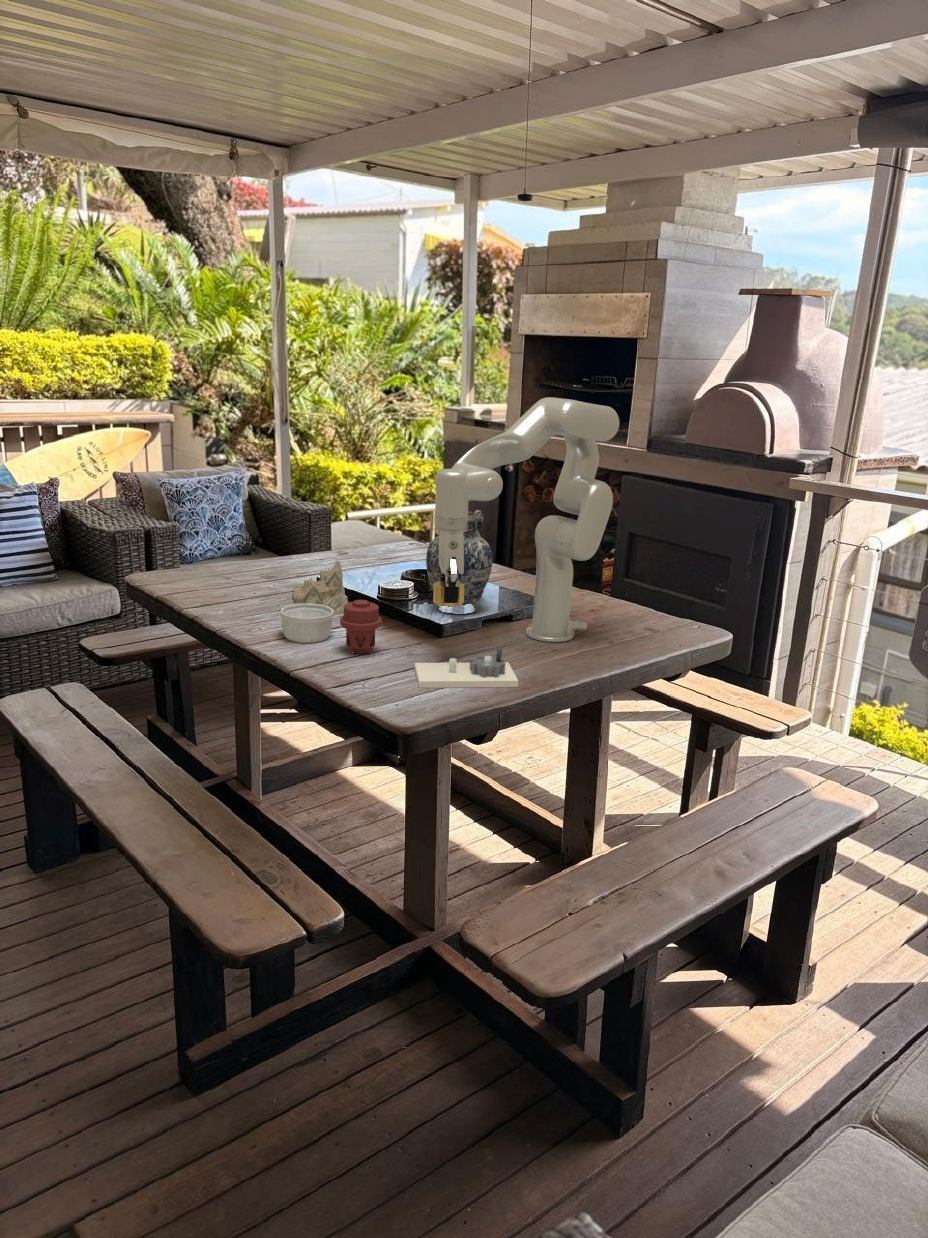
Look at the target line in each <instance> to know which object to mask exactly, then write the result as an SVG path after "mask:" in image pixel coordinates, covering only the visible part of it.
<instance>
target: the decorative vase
mask: <svg viewBox="0 0 928 1238" xmlns="http://www.w3.org/2000/svg"><path fill="white" fill-rule="evenodd" d="M483 524H484V514H483V512H482V510H479V509H477V510H474V511H471V510H468V523H467V531H466V532H463V536H464V573H463V574H462V575H461V574H460V573H459V572H458V581H459V582H460V583H461V584H464V603H462V605H466V604H472V605H475V604H476V603H479V602H480V601H481V599H482V596H483V594H484V590H485V588H486V586H487V584H488V583H489V579H490V577H491V573H492V569H493V568H492V567H493V553H492V549H491V545H489V542H487V541H486V539H485V538H483V537H482V536H481V535H480V531H479V530H480V529H481V528H482V527H483ZM437 533H438V534H439V531H437ZM425 558H426V559H425V561H426V562H425V564H426V566H425V567H426V572H427V577H428V580H429V583H430V586H431V588H432V590H433V591H434V584H436V582H437V581H440V577H441V568H440V566H439V535H438V536H435V537H434V538H433V539H432V540H431V541H430V543H429V545H428V547H427V551H426V555H425Z"/></svg>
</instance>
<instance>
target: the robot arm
mask: <svg viewBox="0 0 928 1238" xmlns="http://www.w3.org/2000/svg"><path fill="white" fill-rule="evenodd" d="M619 428H620V418H619V415H618V412H616V410H615V409H614V408H613V407H611V406H607V405H601V404H595V403H590V402H584V401H579V400H576V399H569V398H561V397H560V398H559V397H543V398H541V399H539V400H538V401H536V402H535V403H534V404H532V406H531V407H530V408H528V410H526V411H525V412H524V414H523V415H521V417H519V418H518V419H517V420H516V421H515V422H514V423H513V424H512V425H511V426H510V427H509V428H508V429H506V430H505V431H504V432H503V433H499V434H498V435H495V436H493V437H491V438H488V439H487V440H485V441H482V442H480V443H479V444H476V445H475V446H474V447H472V448H471V449H469V450H468V451H466V453H464V454H463V455H462V456H461V457H460V458H459V459H458V460H457V461H456V462H455V463H454V464H453V466H452V467H451V468H444V469H443V468H442V469H440V470H438V471H437V473H436V476H435V477H436V478H435V504H434V505H435V509H434V513H435V514H434V531H437V532H438V531H439V533H438V536H439V566H440V568H441V577H440V581H446V586H444V603H457V602H458V572H459V573H460V574H461V575H462V574H463V573H464V536H463V532H466V531H467V523H468V511H469V502H470V501H475V502H476V501H477V502H488V501H493V500H495V499H496V498H498V497H499V495H500V494H501V493H502V491H503V487H504V486H503V485H504V482H503V478H502V477H501V475H500V474H499V473H498V472H497V471H495V470H494V469H495V468H498V467H502V466H505V465H510V464H517V463H520V462H524V461H526V460H529V459H531V457H532V456H533V455H535V454H536V453H537V452H538V450H540V449H541V448H542V447H543V446H544V445H545V444H546V443H547V442H548V441H549V440H550V439H551V438H552V437H553V436H555V435H560V436H563V439H564V442H565V446H566V454H565V459H564V462H563V466H562V469H561V472H560V475H559V477H558V481H557V483H556V486H555V489H554V493H553V498H552V499H553V505H554V506H555V507H556V509H558V510H560V511H562V512H565V513H569V514H571V515H577V516H578V517H577V519H574V518H569V517H566V516H561V515H547V516H545V517H543V518H541V520H539V522H538V523H537V525H536V528H535V530H534V542H535V550H536V552H535V553H536V571H535V573H536V574H535V583H534V585H535V586H534V599H533V610H532V611H533V614H532V625H529V626H527V627H526V630H525V634H526V635H527V637H529V638H531V639H534V640H537V641H541V642H547V643H548V642H549V643H562V642H563V643H564V642H567V641H571V640H572V639H574V638H575V637H574V636H575V631H576V630H579V631H586V630H587V629H588V624H587V622H580V621H581V620H572V619H571V618H570V614H571V605H572V602H571V601H572V593H573V591H572V590H573V581H574V566H573V560H574V561H575V560H576V561H582V562H583V561H587V560H589V559H591V558H592V557H593V556H594V555H595V554H596V553H597V551H598V549H599V546H600V545H601V542H602V538H603V535H604V532H605V530H606V527H607V525H608V521H609V517H610V515H611V512H612V508H613V503H614V495H613V491H612V489H611V487H610V486H609V484H607V483H606V482H605V481H602V480H598V479H595V478H596V474H597V471H598V466H599V464H600V463H599V462H600V453H599V448H598V445H597V442H607V441H610V440H611V439H612V438H614V437H615V436H616V435H617V433H618V431H619ZM596 441H597V442H596Z"/></svg>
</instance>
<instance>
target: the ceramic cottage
mask: <svg viewBox="0 0 928 1238" xmlns="http://www.w3.org/2000/svg"><path fill="white" fill-rule="evenodd" d="M343 576H344V575H343V570H342V564H341V562H340V560H337V559H336V560H335V562H334V565H333V566H332V567H331V569H329V570H328V569H326V570H325V569H321V570H320V571H319V579H318V580H316V581H314V580H313V578H312V577H309V579H304V580H303V582H304V583H303V585H296V584H295V585H294V586H293V588H292V590H293V592H292V595H291V597H292V598H291V600H292V603H293V604H305V603H308V604H320V605H324V606H328V607H330V608H332V609H333V611H334V617H335V616H341V615H344V605H345V604H347V603H349V601H348V599H349V598H348V597H349V596H347V595H346V593H345V592H346V591H345V587H344V585H343V583H344V582H343V581H344V577H343Z"/></svg>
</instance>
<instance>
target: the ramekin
mask: <svg viewBox="0 0 928 1238" xmlns="http://www.w3.org/2000/svg"><path fill="white" fill-rule="evenodd" d="M280 609H281V610H280V613H279V614H280V618H281V626H282V631H283V632H282V633H283V635H284V637H285V638H286V639H287V640H289V641H291V642H295V643H301V644H312V643H313V644H314V643H320V642H324V641H326V640H327V639H328V638H329V636H330V635H331V633H332V628H333V627H332V626H333V619H334V617H335V616H334V611H333V609H332V608H330V607H328V606H324V605H320V604H308V603H305V604H294V603H293V604H289V605H287V606H284V607H282V608H280Z"/></svg>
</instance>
